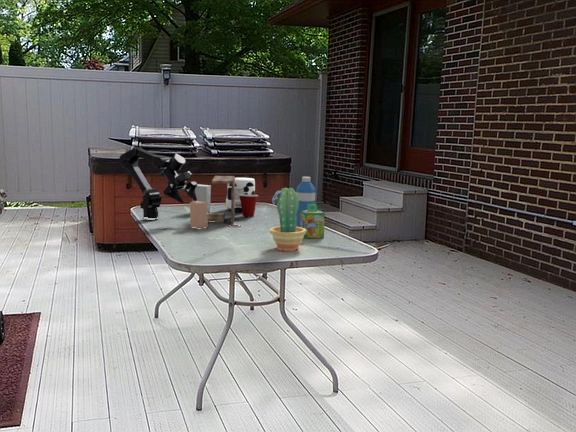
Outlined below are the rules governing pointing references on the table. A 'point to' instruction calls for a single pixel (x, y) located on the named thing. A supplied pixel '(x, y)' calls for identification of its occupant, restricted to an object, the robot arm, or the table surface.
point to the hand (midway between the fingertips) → (189, 201)
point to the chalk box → (312, 222)
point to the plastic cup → (248, 204)
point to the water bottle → (305, 196)
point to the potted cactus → (287, 220)
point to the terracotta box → (198, 214)
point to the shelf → (231, 181)
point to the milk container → (240, 191)
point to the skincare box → (203, 194)
